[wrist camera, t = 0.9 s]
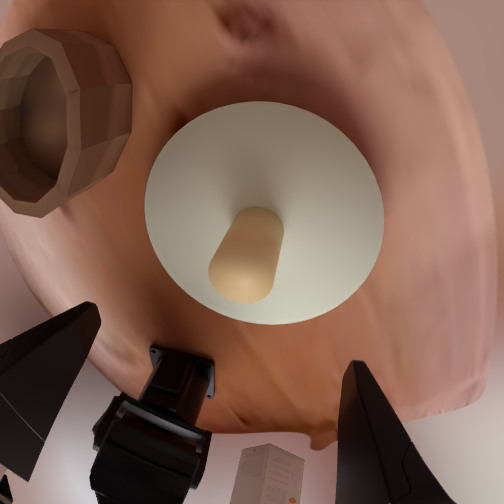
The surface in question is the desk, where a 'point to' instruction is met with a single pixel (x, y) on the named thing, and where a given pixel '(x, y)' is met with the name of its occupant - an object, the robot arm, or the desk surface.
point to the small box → (268, 477)
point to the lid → (264, 212)
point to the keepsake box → (59, 117)
